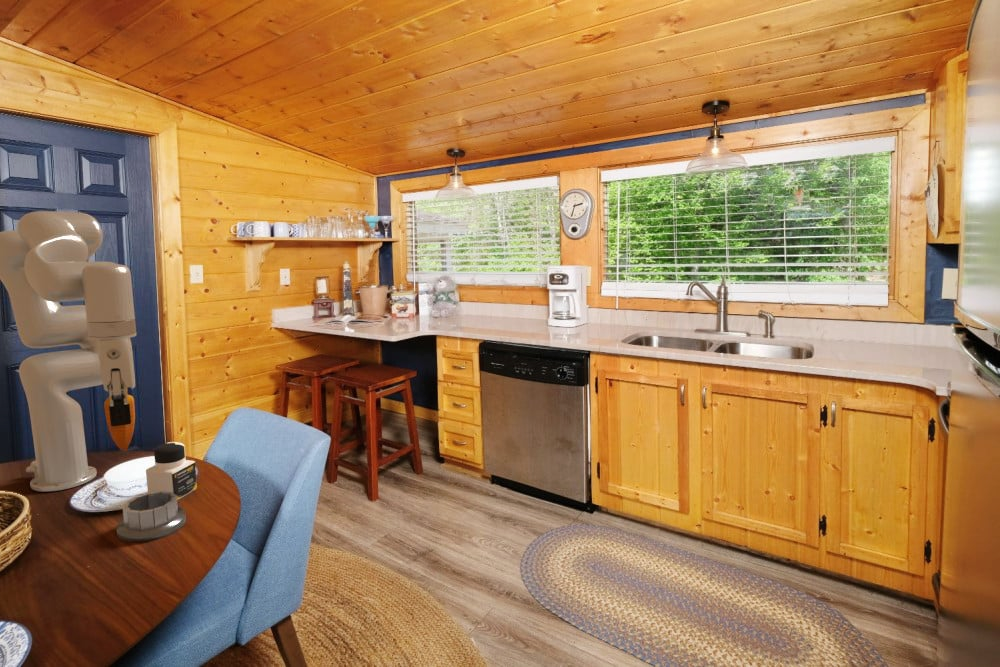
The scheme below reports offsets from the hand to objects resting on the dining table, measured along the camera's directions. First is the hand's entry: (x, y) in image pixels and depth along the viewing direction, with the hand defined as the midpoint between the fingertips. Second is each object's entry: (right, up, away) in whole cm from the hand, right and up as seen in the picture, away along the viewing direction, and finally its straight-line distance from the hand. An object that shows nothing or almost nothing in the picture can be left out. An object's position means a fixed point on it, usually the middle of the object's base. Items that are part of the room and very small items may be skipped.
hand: (121, 419), depth 107 cm
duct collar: (+3, -23, +6) cm, 24 cm away
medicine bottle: (-2, -21, +20) cm, 29 cm away
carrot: (0, -7, +1) cm, 7 cm away
